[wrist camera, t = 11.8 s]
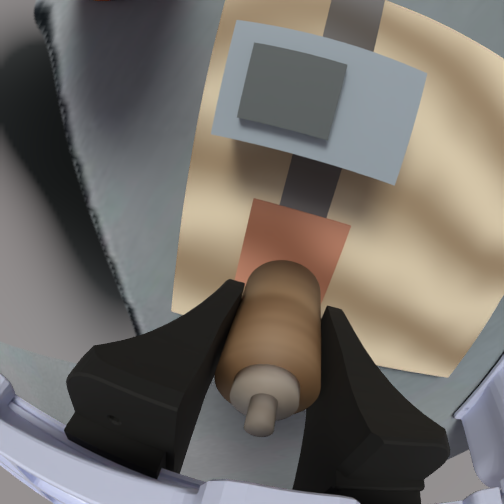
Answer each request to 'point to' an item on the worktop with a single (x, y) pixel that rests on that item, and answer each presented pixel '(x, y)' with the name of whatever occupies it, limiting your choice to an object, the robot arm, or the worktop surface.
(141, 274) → the worktop surface
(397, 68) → the block
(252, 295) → the brown glue bottle
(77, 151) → the worktop surface
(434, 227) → the board
